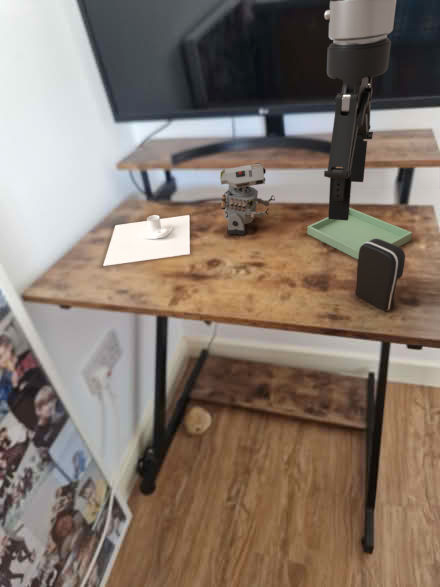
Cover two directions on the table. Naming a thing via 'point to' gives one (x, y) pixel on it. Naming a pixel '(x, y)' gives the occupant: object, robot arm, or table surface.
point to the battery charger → (379, 272)
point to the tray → (357, 232)
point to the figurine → (242, 196)
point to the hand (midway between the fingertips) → (347, 198)
